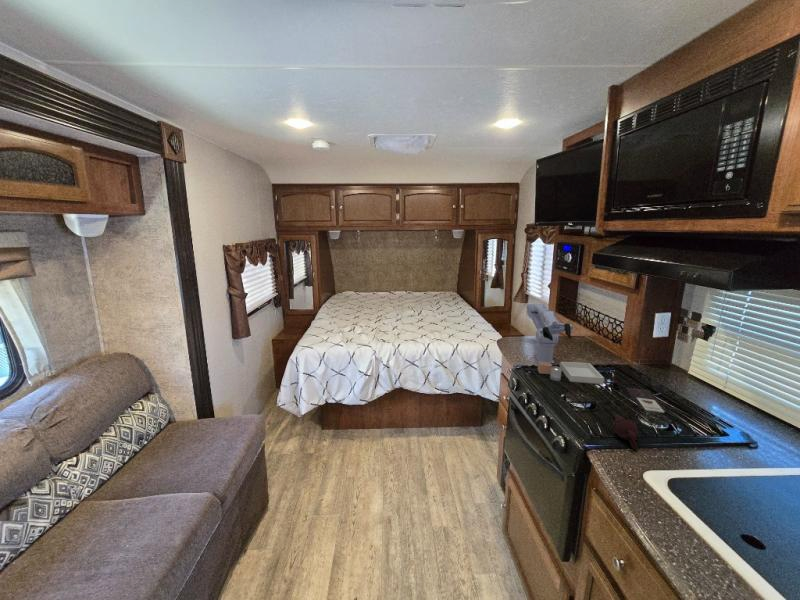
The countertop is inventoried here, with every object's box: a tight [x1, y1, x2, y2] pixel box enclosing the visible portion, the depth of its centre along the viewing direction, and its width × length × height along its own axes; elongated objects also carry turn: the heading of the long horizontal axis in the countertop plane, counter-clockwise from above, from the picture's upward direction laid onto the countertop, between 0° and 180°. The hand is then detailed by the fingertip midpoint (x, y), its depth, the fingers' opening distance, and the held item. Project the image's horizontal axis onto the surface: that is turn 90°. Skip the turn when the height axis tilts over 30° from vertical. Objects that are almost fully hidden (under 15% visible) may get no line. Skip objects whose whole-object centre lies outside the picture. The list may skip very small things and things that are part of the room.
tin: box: [549, 365, 563, 382], centre depth 151 cm, size 4×4×6 cm
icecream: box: [611, 413, 639, 451], centre depth 110 cm, size 7×7×15 cm
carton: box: [537, 361, 553, 375], centre depth 158 cm, size 4×6×4 cm
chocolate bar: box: [624, 386, 669, 415], centre depth 133 cm, size 9×1×18 cm
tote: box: [559, 361, 605, 385], centre depth 155 cm, size 16×14×3 cm
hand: (560, 337), depth 148 cm, fingers open, 7 cm apart
